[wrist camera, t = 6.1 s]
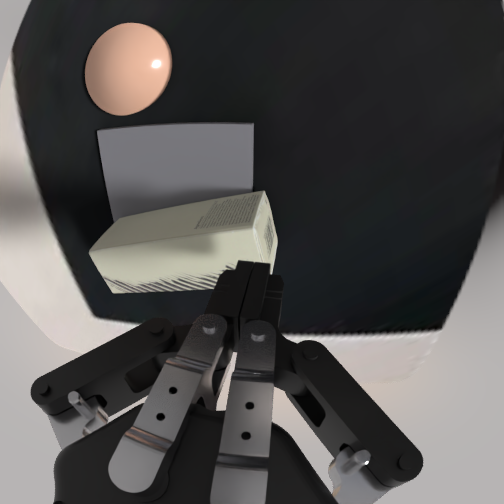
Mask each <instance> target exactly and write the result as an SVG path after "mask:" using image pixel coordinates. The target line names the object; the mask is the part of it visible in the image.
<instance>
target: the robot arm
mask: <svg viewBox="0 0 504 504" xmlns="http://www.w3.org/2000/svg"><path fill="white" fill-rule="evenodd" d="M270 269H271V263H263V262H255V263H254V262H253V261H244V260H238V262H237V265H236V268H235V270H228V269H226V270H225V271H224V272H223V273H222V274H221V275H219V278H218V280H217V283H216V285H215V288H214V291H213V293H212V295H211V298H210V300H209V303H208V305H207V308H206V310H205V313H204V315H201V316H200V317H198V318H197V319H196V320H195V321H194V323H193V324H191V325H186V326H174V327H173V325H172V323H171V322H170V321H169V320H167V319H165V318H153V319H151V320H148V321H147V322H145V323H143V324H141V325H139V326H137V327H135V328H133V329H131V330H130V331H128V332H126V333H124V334H122V335H120V336H118V337H116V338H114V339H112V340H111V341H109V342H107V343H105V344H103V345H101V346H99V347H97V348H95V349H93V350H91V351H89V352H88V353H86V354H84V355H82V356H80V357H78V358H76V359H74V360H72V361H70V362H68V363H66V364H64V365H62V366H60V367H59V368H57V369H55V370H53V371H51V372H49V373H47V374H45V375H43V376H41V377H39V378H38V379H37V380H35V382H34V383H33V385H32V387H31V397H32V399H33V400H34V402H35V403H36V404H37V405H38V406H39V407H40V408H42V410H43V411H44V412H45V413H46V414H47V415H48V417H49V420H50V423H51V425H52V428H53V430H54V432H55V435H56V438H57V440H58V442H59V445H60V447H61V449H62V451H61V452H60V453H59V455H58V456H57V458H56V461H55V464H54V479H55V499H54V503H53V504H373V503H374V502H375V501H377V500H378V499H379V498H381V497H382V496H383V495H384V494H386V493H387V492H388V491H389V490H391V489H393V488H396V487H398V486H400V485H402V484H404V483H406V482H408V481H410V480H412V479H414V478H415V477H416V476H417V475H418V474H419V473H420V471H421V469H422V467H423V457H422V454H421V452H420V451H419V450H418V449H417V448H416V447H415V445H414V444H413V443H412V442H411V441H410V440H409V439H408V438H407V437H406V436H405V435H404V433H403V432H401V430H400V429H399V428H398V427H397V426H396V425H395V424H394V423H393V422H392V420H391V419H390V418H389V417H388V416H387V415H386V414H385V413H384V412H383V410H382V409H381V408H380V407H379V406H378V405H377V404H376V403H375V402H374V401H373V400H372V398H371V397H370V396H369V395H368V394H367V393H366V392H365V391H364V390H363V389H362V387H361V386H360V385H359V384H358V383H357V382H356V381H355V380H354V378H353V377H352V376H351V375H350V374H349V373H348V372H347V371H346V370H345V368H344V367H343V366H342V365H341V364H340V363H339V362H338V361H337V360H336V358H335V357H334V356H333V355H332V354H331V353H330V352H329V351H328V350H327V348H326V347H325V346H324V345H322V344H321V343H319V342H317V341H313V340H305V341H302V342H299V343H298V344H297V343H295V342H292V341H290V340H288V339H286V338H285V337H284V336H283V335H282V334H281V333H280V331H279V328H278V327H279V320H280V313H281V306H282V297H283V287H284V282H283V280H282V278H281V276H280V275H272V274H270ZM233 352H237V357H236V364H235V370H234V372H233V373H232V376H231V382H230V388H229V394H228V400H227V406H226V410H225V411H216V406H217V401H218V398H219V395H220V392H221V390H222V387H223V384H224V382H225V379H226V376H227V373H228V371H229V368H230V361H231V358H232V354H233ZM274 387H277V388H279V389H281V390H283V391H285V393H286V395H287V397H288V398H289V400H290V401H291V402H292V403H293V405H294V406H295V408H296V409H297V410H298V412H299V413H300V414H301V416H302V417H303V418H304V420H305V421H306V422H307V424H308V425H309V426H310V428H311V429H312V430H313V432H314V433H315V434H316V435H317V437H318V438H319V439H320V441H321V442H322V443H323V444H324V446H325V447H326V448H327V450H328V451H329V452H330V453H331V455H332V456H333V457H334V459H333V460H332V462H331V463H330V465H329V469H328V473H329V477H330V479H331V481H332V483H333V493H332V494H331V492H330V491H329V490H328V488H327V487H326V486H325V484H324V483H323V481H322V480H321V479H320V477H319V476H318V474H317V473H316V471H315V470H314V469H313V467H312V466H311V464H310V463H309V461H308V460H307V459H306V457H305V455H304V454H303V453H302V451H301V450H300V448H299V447H298V445H297V444H296V442H295V441H294V439H293V438H292V437H291V436H290V434H289V433H288V432H286V431H285V430H284V429H283V428H282V427H280V426H278V425H277V424H275V423H273V422H272V408H273V392H274ZM147 395H148V397H147V399H146V401H145V403H142V404H140V405H138V406H136V407H134V408H132V409H131V410H129V411H128V412H126V413H124V414H123V415H121V416H119V417H118V418H116V419H114V420H113V421H111V422H109V423H107V422H108V417H110V416H112V415H114V414H115V413H117V412H119V411H121V410H122V409H124V408H126V407H128V406H130V405H132V404H133V403H135V402H137V401H138V400H140V399H142V398H144V397H146V396H147Z"/></svg>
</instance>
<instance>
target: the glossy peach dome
mask: <svg viewBox="0 0 504 504" xmlns="http://www.w3.org/2000/svg"><path fill="white" fill-rule="evenodd" d="M171 70H172V55H171V50H170V47H169V45H168V43H167V41H166V39H165V38H164V37H163V35H162V34H161V33H160V32H159V31H157V30H156V29H154V28H153V27H150V26H148V25H144V24H138V23H125V24H121V25H118V26H115V27H113V28H111V29H110V30H108V31H107V32H105V33H104V34H103V35H102V36H101V37H100V38H99V39H98V40H97V41H96V43H95V44H94V46H93V47H92V49H91V51H90V53H89V56H88V59H87V62H86V68H85V81H86V86H87V89H88V92H89V94H90V96H91V98H92V100H93V101H94V102H95V103H96V105H97V106H99V107H100V108H101V109H102V110H104V111H106V112H108V113H110V114H114V115H129V114H133V113H136V112H138V111H141V110H143V109H145V108H147V107H149V106H150V105H152V104H153V103H154V102H155V101H156V100H157V99H158V98H159V97H160V96H161V94H162V93H163V92H164V90H165V88H166V86H167V84H168V82H169V79H170V75H171Z"/></svg>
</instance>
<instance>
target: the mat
mask: <svg viewBox="0 0 504 504" xmlns="http://www.w3.org/2000/svg"><path fill="white" fill-rule="evenodd" d="M253 133H254V123H236V122H192V123H165V124H149V125H136V126H125V127H115V128H106V129H100V130H98V131H97V134H98V142H99V148H100V155H101V161H102V167H103V172H104V178H105V183H106V188H107V193H108V198H109V202H110V207H111V212H112V216H113V220H114V223H115V222H116V221H117V220H118V219H119V218H122V217H126V216H131V215H136V214H140V213H145V212H150V211H154V210H159V209H164V208H169V207H174V206H179V205H184V204H189V203H195V202H201V201H206V200H211V199H218V198H223V197H229V196H235V195H240V194H246V193H252V192H253Z"/></svg>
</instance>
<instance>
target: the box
mask: <svg viewBox="0 0 504 504" xmlns="http://www.w3.org/2000/svg"><path fill="white" fill-rule="evenodd" d="M276 248H277V235H276V231H275V227H274V222H273V218H272V213H271V209H270V205H269V201H268V198H267V196H266V194H265V191H258V192H252V193H246V194H240V195H235V196H229V197H223V198H218V199H211V200H206V201H201V202H195V203H189V204H184V205H179V206H174V207H169V208H164V209H159V210H154V211H150V212H145V213H140V214H136V215H131V216H126V217H122V218H119V219H118V220H117V221H116V222H115V223H114V224H113V225H112V226H111V227H110V228H109V229H108V230H107V231H106V232H105V233H104V234H103V235H102V236H101V237H100V238H99V240H98V241H97V242H96V243H95V244H94V245H93V247H92V248H91V249H90V251H89V254H90V256H91V258H92V260H93V261H94V263H95V265H96V267H97V268H98V270H99V272H100V273H101V275H102V276H103V278H104V280H105V281H106V283H107V284H108V286H109V288H110V289H111V291H112V292H113V293H133V292H156V291H181V290H197V289H214V288H215V285H216V283H217V280H218V278H219V275H221V274H222V273H223V272H224V271H225V270H226V269H228V270H235V268H236V265H237V262H238V260H244V261H253V262H254V263H255V262H263V263H271V269H270V274H272V271H273V266H274V260H275V255H276Z"/></svg>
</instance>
